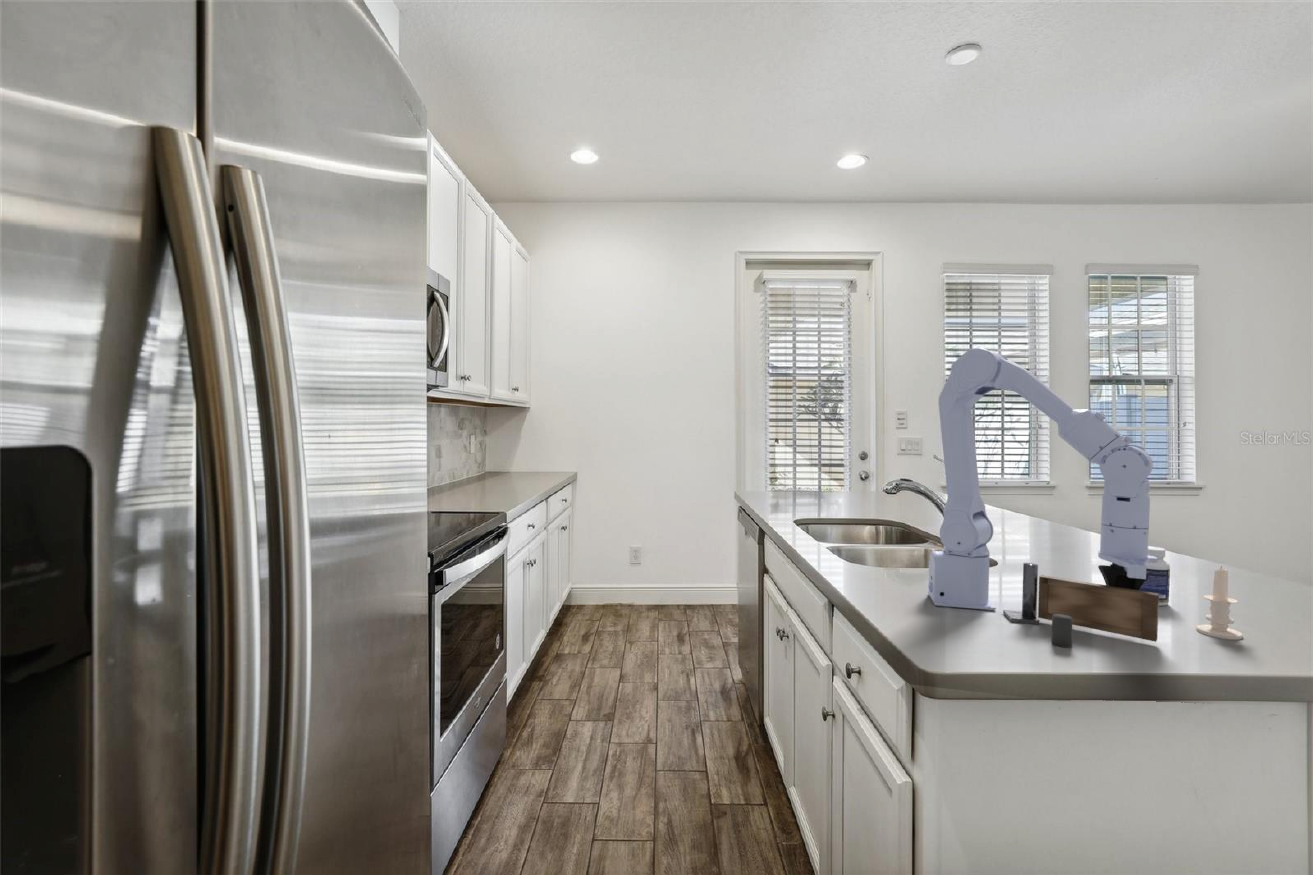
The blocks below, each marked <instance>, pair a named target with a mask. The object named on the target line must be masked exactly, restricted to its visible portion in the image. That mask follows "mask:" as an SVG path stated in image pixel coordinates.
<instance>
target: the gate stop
mask: <svg viewBox="0 0 1313 875" xmlns="http://www.w3.org/2000/svg"><path fill="white" fill-rule="evenodd" d="M1072 619H1073V618H1072V617H1070V616H1067V615H1062V614H1053V615H1052V620H1051V622H1052V623H1051V624H1052V625H1051V627H1052V628H1051V644H1052V645H1054V646H1057V647H1061V648H1071V647H1072V646H1073V645H1072V644H1073V643H1072V642H1073V625H1072Z"/></svg>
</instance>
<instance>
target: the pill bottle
mask: <svg viewBox="0 0 1313 875" xmlns="http://www.w3.org/2000/svg"><path fill="white" fill-rule="evenodd" d="M1148 556H1155V557H1156V558H1158V563H1148V565H1147V566H1146V573H1147V574H1148V578H1147V580H1146V581H1145V582H1144V583H1143V585H1142V586H1141V588H1140V589H1139V591H1146V592H1152V593H1158V594H1159V605H1158V607H1162V606H1163V607H1166V606H1168V605H1169V602H1170V585H1171V584H1170V578H1171V577H1170V576H1171V566H1170V563H1168V561H1165V560H1164V558H1166V549H1165V548H1163V547H1158V546H1153V545H1151V546H1150V545H1148Z"/></svg>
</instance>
